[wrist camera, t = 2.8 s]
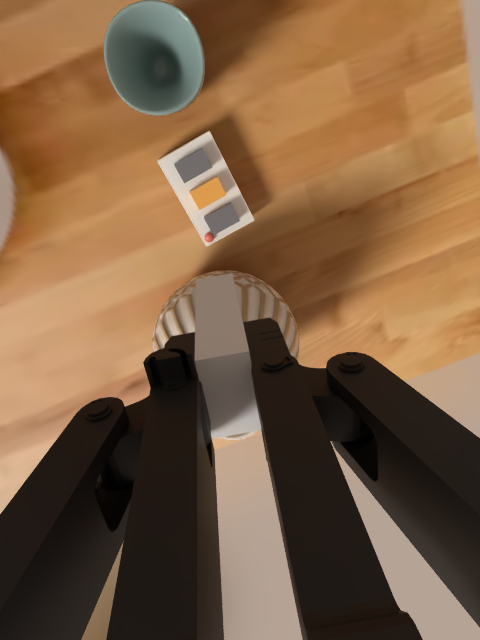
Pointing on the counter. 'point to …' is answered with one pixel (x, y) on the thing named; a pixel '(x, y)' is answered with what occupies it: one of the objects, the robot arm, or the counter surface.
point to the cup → (154, 58)
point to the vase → (253, 304)
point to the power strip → (206, 188)
